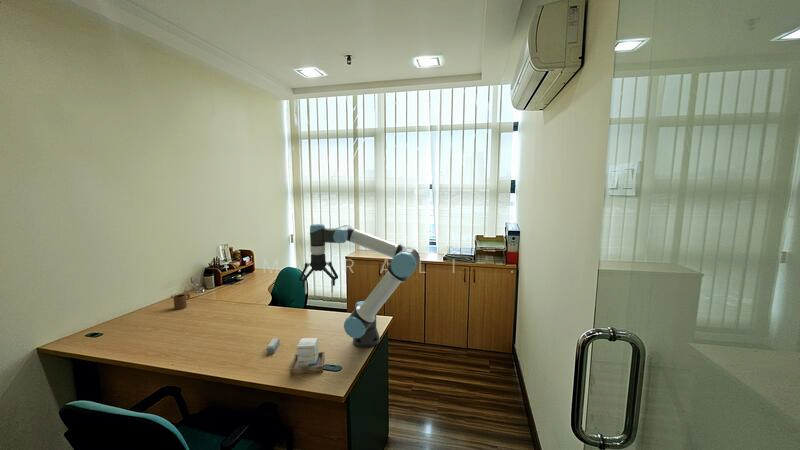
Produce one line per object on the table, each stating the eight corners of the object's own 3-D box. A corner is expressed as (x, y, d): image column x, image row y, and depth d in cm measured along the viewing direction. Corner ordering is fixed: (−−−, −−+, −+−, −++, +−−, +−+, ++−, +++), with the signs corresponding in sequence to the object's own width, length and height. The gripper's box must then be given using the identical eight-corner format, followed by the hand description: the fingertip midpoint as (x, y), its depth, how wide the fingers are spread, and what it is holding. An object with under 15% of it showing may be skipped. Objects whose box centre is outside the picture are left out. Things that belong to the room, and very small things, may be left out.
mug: (186, 303, 241) (185, 291, 240) (194, 304, 239) (193, 292, 238) (171, 309, 229) (170, 297, 228) (180, 310, 227) (179, 297, 226)
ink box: (319, 359, 159) (318, 337, 157) (315, 368, 150) (314, 345, 149) (301, 359, 158) (301, 337, 157) (297, 369, 150) (296, 346, 148)
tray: (324, 357, 162) (324, 351, 162) (322, 371, 149) (322, 365, 148) (295, 359, 160) (294, 354, 159) (290, 375, 146) (290, 369, 146)
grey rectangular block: (273, 345, 176) (272, 337, 175) (279, 344, 176) (279, 337, 175) (267, 354, 166) (266, 346, 165) (274, 353, 166) (273, 346, 165)
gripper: (342, 251, 171) (342, 288, 173) (294, 252, 167) (296, 291, 169) (342, 253, 164) (342, 293, 166) (292, 255, 159) (293, 296, 161)
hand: (319, 292), depth 167 cm, fingers open, 13 cm apart
